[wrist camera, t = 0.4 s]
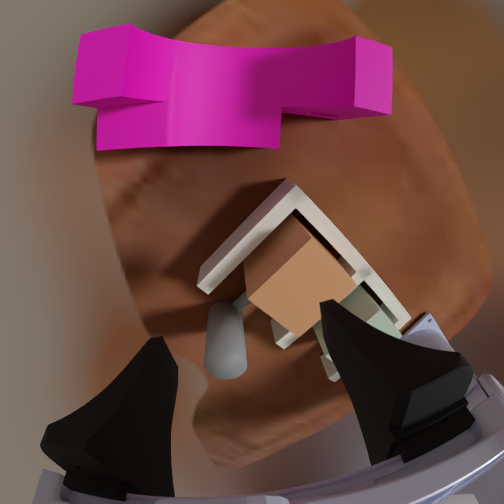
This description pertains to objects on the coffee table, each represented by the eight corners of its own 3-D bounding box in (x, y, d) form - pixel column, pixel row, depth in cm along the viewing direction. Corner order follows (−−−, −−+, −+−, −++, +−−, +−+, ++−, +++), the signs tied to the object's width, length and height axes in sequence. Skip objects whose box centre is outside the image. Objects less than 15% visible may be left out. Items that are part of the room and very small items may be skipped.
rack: (396, 300, 24) (411, 318, 21) (325, 361, 26) (334, 382, 23) (286, 178, 19) (296, 184, 17) (200, 266, 21) (196, 285, 19)
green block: (374, 299, 24) (402, 335, 19) (333, 335, 25) (353, 376, 20) (350, 273, 23) (379, 309, 18) (307, 313, 24) (325, 356, 19)
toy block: (123, 147, 18) (70, 155, 11) (128, 64, 15) (80, 34, 8) (334, 153, 19) (386, 164, 12) (339, 72, 17) (391, 47, 10)
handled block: (329, 251, 22) (360, 289, 16) (234, 338, 24) (236, 389, 19) (290, 212, 20) (314, 241, 15) (193, 309, 23) (184, 359, 17)
